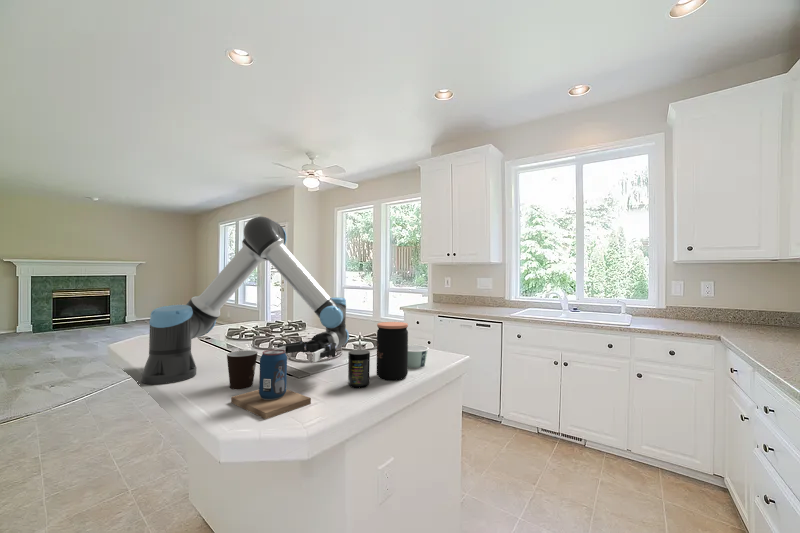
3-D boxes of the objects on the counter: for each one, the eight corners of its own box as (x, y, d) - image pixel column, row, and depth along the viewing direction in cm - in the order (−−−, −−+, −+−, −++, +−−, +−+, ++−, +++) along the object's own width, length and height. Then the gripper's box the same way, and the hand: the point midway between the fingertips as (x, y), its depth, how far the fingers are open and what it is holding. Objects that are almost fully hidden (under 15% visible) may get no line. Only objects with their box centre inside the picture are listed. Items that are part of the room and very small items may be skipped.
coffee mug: (244, 391, 99) (245, 357, 100) (219, 389, 101) (220, 355, 101) (268, 380, 111) (268, 349, 111) (244, 378, 112) (245, 347, 113)
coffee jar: (379, 371, 122) (380, 321, 122) (409, 373, 120) (409, 322, 121) (373, 380, 111) (374, 325, 112) (405, 382, 110) (406, 326, 110)
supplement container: (372, 387, 104) (372, 353, 104) (350, 390, 102) (350, 355, 102) (366, 381, 110) (366, 349, 111) (345, 383, 108) (346, 350, 108)
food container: (391, 364, 133) (391, 347, 133) (413, 359, 141) (413, 343, 141) (413, 370, 124) (413, 352, 124) (435, 365, 132) (435, 348, 132)
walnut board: (231, 402, 91) (231, 396, 91) (275, 390, 101) (275, 385, 101) (265, 419, 80) (265, 413, 80) (310, 403, 90) (310, 397, 90)
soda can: (267, 391, 95) (268, 348, 96) (290, 392, 94) (291, 349, 95) (253, 400, 88) (254, 353, 89) (279, 401, 88) (280, 354, 88)
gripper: (357, 355, 119) (331, 371, 98) (292, 351, 124) (255, 365, 104) (357, 334, 119) (332, 345, 98) (293, 330, 124) (256, 341, 104)
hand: (292, 356), depth 101 cm, fingers open, 13 cm apart
